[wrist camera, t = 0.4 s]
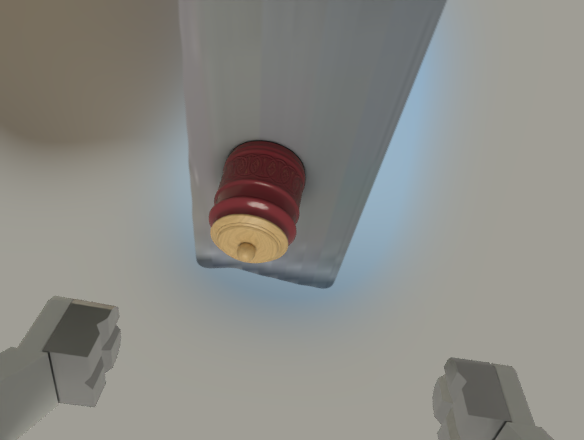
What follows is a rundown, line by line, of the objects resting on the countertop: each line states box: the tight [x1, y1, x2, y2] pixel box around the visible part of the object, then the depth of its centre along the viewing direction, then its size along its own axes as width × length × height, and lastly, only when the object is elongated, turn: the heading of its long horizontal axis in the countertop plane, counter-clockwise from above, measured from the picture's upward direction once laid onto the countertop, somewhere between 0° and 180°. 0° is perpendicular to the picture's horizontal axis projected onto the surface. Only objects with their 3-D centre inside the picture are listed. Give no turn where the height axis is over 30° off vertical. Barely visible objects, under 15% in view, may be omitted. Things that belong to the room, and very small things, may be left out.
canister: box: [209, 141, 305, 263], centre depth 76 cm, size 13×13×18 cm
